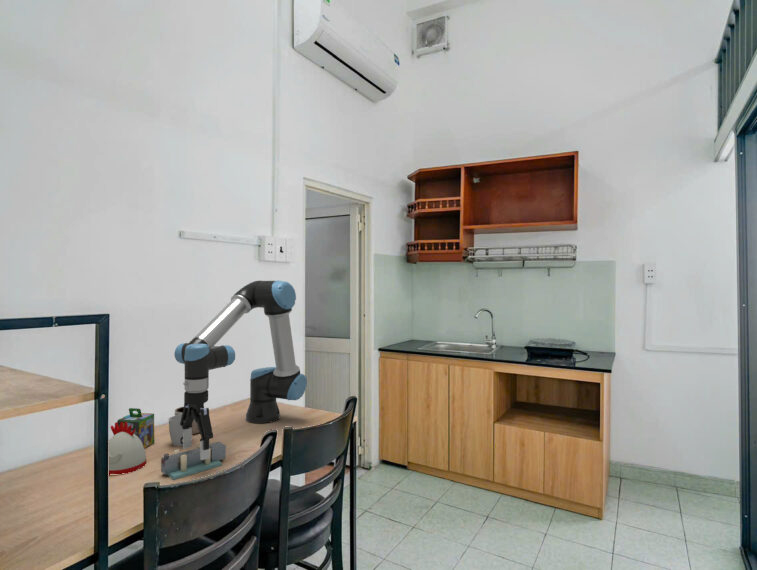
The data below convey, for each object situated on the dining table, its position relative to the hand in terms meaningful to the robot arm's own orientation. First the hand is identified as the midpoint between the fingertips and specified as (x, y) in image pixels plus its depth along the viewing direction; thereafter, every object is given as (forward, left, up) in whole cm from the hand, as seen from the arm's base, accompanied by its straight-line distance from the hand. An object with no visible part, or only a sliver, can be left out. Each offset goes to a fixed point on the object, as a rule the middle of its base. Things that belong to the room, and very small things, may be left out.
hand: (195, 453), depth 148 cm
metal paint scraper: (+1, 0, -4) cm, 4 cm away
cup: (-5, -25, -5) cm, 26 cm away
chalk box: (+8, -33, -5) cm, 34 cm away
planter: (-13, -36, -5) cm, 38 cm away
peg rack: (+1, 0, -5) cm, 5 cm away
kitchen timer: (+17, -17, -5) cm, 25 cm away
